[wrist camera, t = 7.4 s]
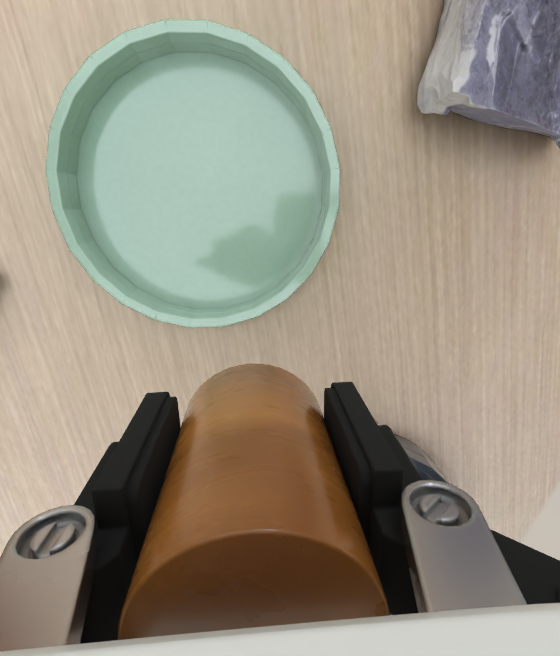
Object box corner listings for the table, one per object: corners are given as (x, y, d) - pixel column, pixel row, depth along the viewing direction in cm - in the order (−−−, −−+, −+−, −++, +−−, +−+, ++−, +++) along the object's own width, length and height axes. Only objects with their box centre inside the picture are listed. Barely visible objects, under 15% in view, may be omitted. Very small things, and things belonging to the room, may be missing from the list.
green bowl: (376, 141, 25) (393, 131, 22) (255, 352, 29) (255, 370, 26) (136, -19, 22) (118, -56, 19) (33, 242, 25) (3, 246, 22)
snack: (347, 398, 11) (442, 587, 6) (281, 502, 12) (308, 756, 7) (222, 339, 11) (189, 489, 5) (161, 454, 12) (74, 695, 6)
